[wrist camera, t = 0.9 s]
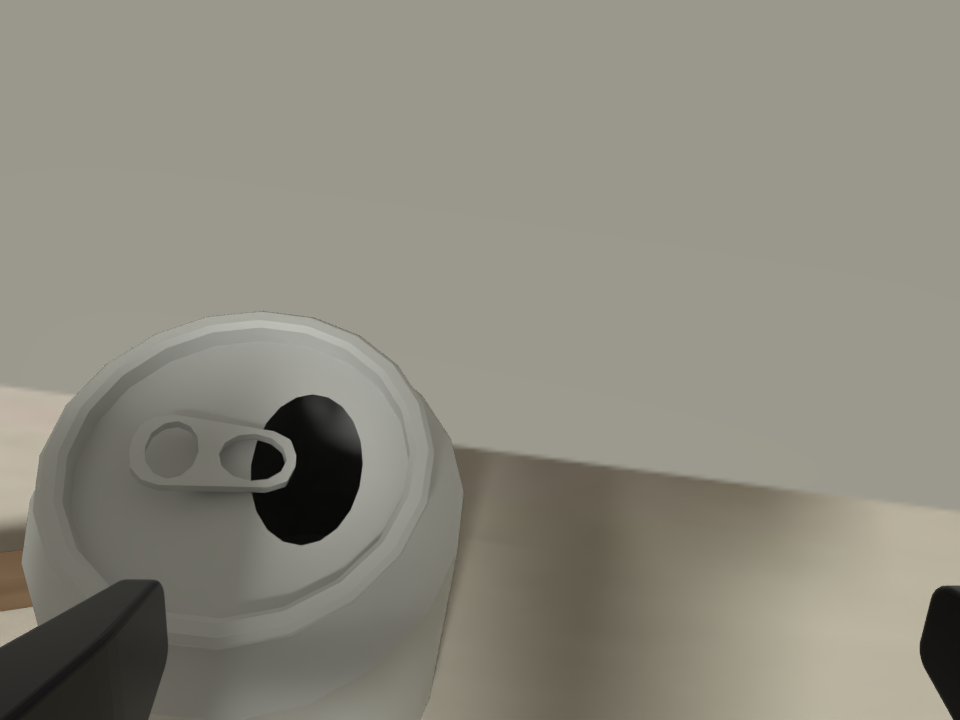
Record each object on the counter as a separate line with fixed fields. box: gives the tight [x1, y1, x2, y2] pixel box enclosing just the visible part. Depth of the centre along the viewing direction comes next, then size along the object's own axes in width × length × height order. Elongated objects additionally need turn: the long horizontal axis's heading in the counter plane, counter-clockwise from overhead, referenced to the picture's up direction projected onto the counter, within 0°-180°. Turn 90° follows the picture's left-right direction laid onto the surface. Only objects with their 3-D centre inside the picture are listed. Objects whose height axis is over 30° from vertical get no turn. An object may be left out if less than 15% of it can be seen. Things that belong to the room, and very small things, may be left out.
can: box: [22, 311, 464, 720], centre depth 17 cm, size 8×8×12 cm
